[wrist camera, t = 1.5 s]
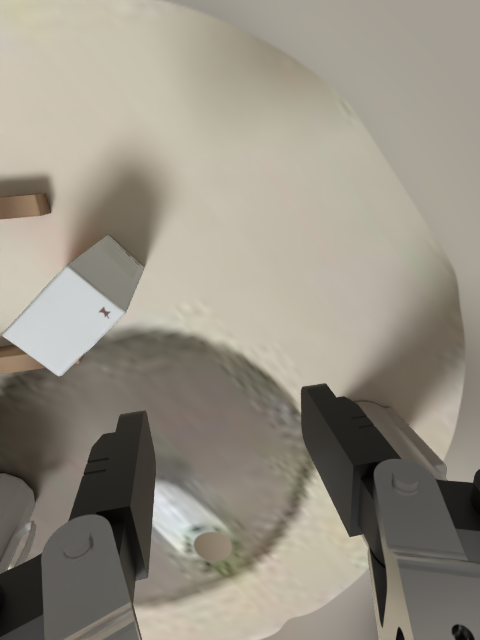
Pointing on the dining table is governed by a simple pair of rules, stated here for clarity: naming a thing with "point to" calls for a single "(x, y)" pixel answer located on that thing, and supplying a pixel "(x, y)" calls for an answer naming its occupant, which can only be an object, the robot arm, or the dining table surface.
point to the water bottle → (15, 519)
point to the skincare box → (77, 306)
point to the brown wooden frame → (17, 207)
